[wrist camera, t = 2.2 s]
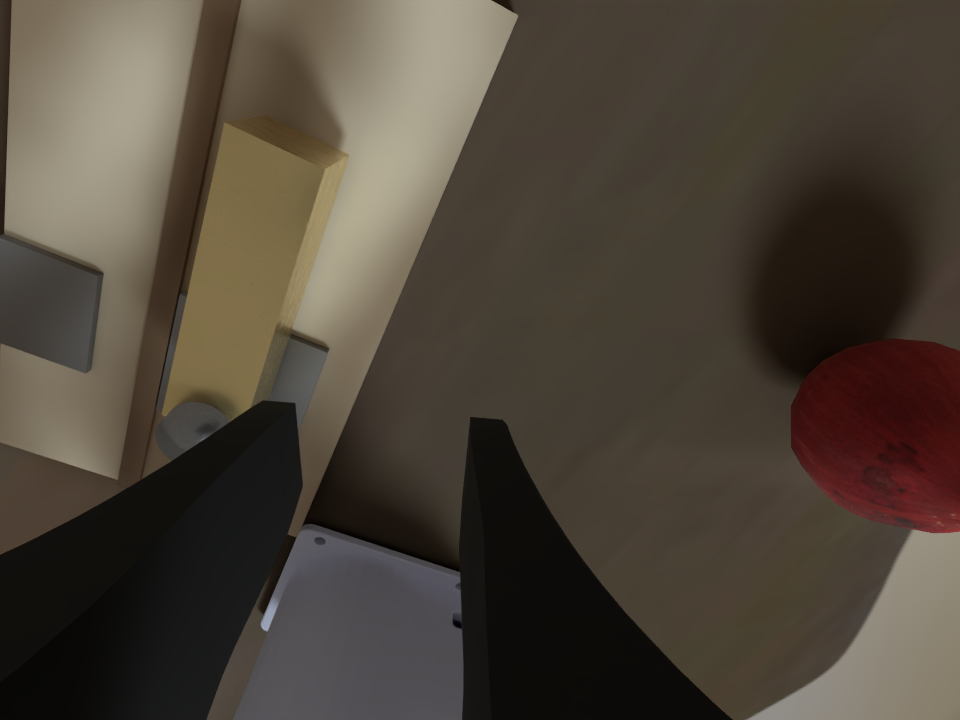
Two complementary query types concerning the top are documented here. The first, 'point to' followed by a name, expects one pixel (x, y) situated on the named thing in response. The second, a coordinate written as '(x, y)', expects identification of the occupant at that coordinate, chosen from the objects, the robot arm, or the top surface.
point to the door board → (185, 189)
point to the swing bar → (247, 274)
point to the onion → (885, 432)
